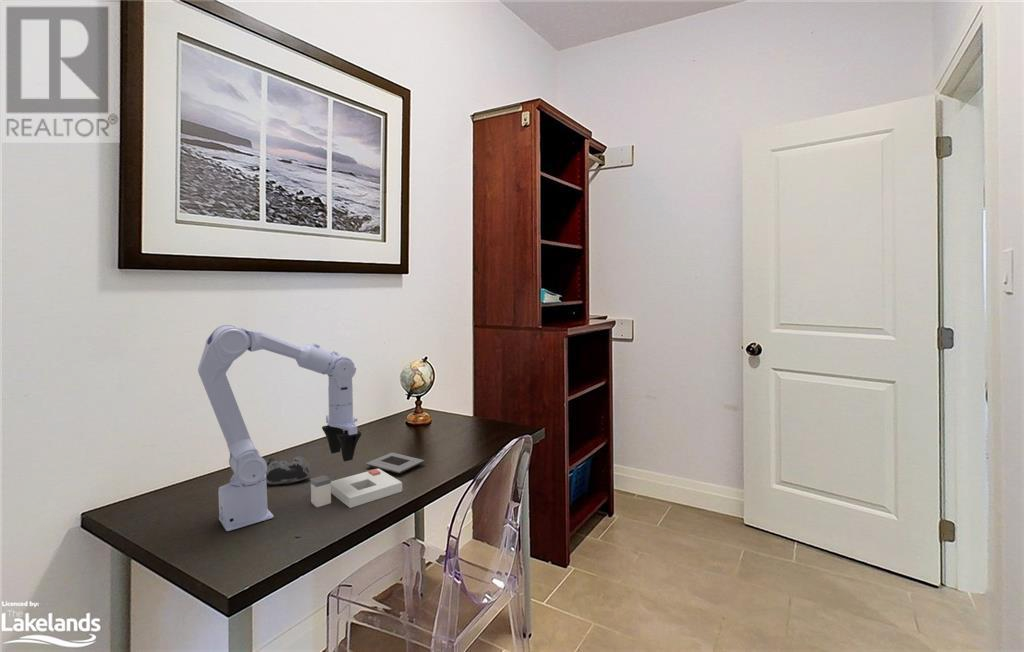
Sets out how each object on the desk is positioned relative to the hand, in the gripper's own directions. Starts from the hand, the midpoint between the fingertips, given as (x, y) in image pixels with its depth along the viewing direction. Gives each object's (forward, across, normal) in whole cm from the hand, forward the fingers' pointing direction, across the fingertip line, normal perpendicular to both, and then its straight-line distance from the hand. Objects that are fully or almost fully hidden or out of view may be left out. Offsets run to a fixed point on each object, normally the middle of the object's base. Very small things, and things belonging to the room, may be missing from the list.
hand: (341, 456), depth 121 cm
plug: (+10, -1, +6) cm, 12 cm away
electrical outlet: (+10, +8, -19) cm, 23 cm away
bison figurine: (+10, +20, +7) cm, 23 cm away
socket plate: (+10, -2, -5) cm, 11 cm away
